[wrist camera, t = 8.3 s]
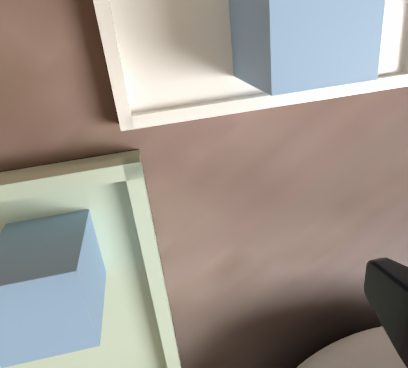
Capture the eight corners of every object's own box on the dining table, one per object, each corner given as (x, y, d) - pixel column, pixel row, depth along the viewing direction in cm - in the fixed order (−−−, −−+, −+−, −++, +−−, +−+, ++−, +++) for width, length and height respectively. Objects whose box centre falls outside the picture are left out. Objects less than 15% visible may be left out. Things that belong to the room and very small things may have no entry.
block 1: (89, 209, 18) (76, 271, 14) (106, 272, 20) (100, 345, 15) (5, 223, 18) (-36, 293, 13) (30, 287, 19) (1, 368, 15)
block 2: (315, -30, 16) (390, -51, 11) (313, 64, 17) (377, 80, 13) (227, -21, 15) (268, -39, 11) (233, 76, 17) (271, 95, 12)
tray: (139, 149, 18) (140, 161, 17) (181, 366, 25) (185, 389, 23) (-219, 208, 16) (-257, 228, 14) (-66, 426, 23) (-81, 456, 21)
